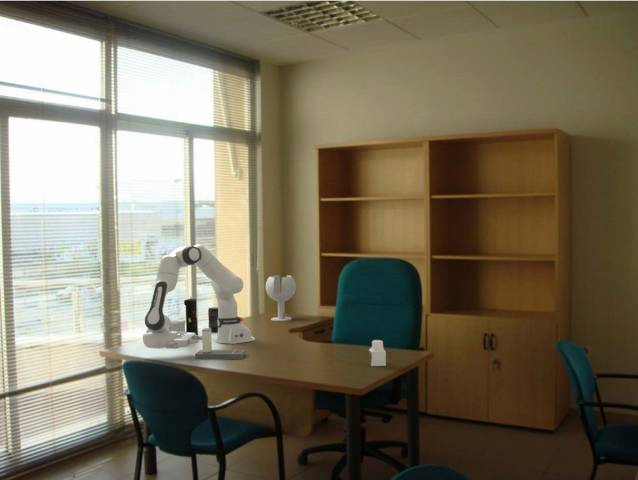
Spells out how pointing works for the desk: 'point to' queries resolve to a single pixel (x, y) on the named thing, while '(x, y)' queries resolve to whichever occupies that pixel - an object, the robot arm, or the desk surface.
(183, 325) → the stereo radio cassette player
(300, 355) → the desk surface
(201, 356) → the mixing console
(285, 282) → the stemmed glass
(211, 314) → the camera lens
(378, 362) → the medicine bottle
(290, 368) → the desk surface
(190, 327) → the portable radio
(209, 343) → the fader knob
